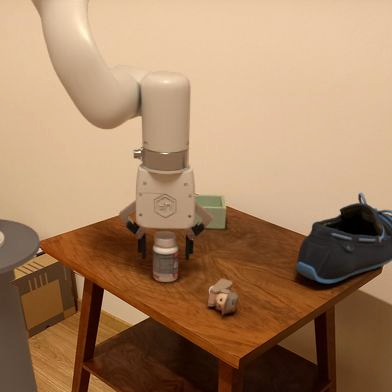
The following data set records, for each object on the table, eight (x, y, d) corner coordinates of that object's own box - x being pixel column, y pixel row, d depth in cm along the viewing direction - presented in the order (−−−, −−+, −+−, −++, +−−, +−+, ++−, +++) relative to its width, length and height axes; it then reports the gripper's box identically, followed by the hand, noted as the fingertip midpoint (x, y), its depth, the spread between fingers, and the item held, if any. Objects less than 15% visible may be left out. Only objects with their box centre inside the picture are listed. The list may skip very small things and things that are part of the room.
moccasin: (415, 250, 113) (434, 197, 106) (353, 302, 89) (373, 239, 82) (356, 230, 119) (371, 179, 112) (283, 275, 95) (297, 213, 89)
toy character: (198, 289, 84) (232, 301, 82) (216, 274, 90) (247, 284, 89) (194, 311, 86) (227, 323, 84) (212, 294, 92) (243, 305, 91)
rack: (156, 227, 115) (156, 206, 112) (157, 213, 121) (157, 193, 118) (224, 228, 115) (226, 208, 113) (222, 215, 122) (224, 195, 119)
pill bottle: (179, 282, 95) (180, 240, 90) (154, 283, 94) (153, 241, 89) (176, 270, 99) (177, 229, 94) (152, 271, 98) (151, 230, 93)
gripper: (109, 163, 80) (115, 265, 91) (220, 167, 81) (213, 267, 91) (114, 149, 86) (120, 246, 97) (217, 153, 87) (212, 249, 97)
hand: (165, 256), depth 94 cm, fingers open, 7 cm apart
